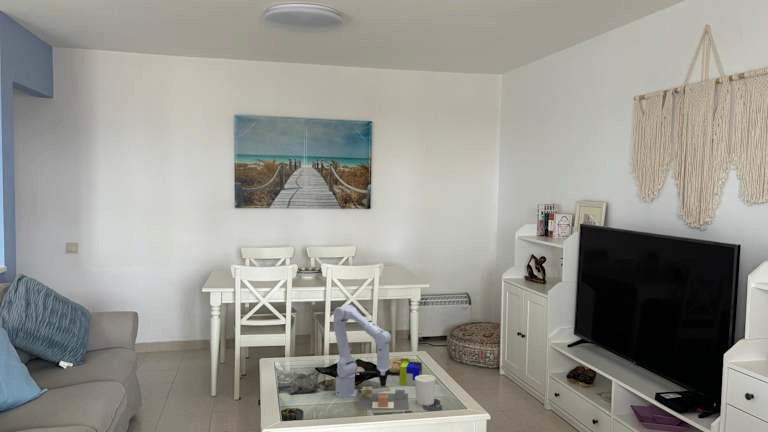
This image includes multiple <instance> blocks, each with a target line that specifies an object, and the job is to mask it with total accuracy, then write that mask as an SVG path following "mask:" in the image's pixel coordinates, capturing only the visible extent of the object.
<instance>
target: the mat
mask: <svg viewBox="0 0 768 432" xmlns="http://www.w3.org/2000/svg"><path fill="white" fill-rule="evenodd" d="M378 394H388V407H378ZM409 407H410V405H409V393H407V392H406V393H405V399H395V392H394V393H393V392H392V393H390V392H388V393H387V392H386V393H385V392H384V393H383V392H382V393H381V392H379V393H377V392H375V393H374V392H372V399H362V392H360V393H359V396H358V400H357V406H356V410H365V411H366V410H367V411H372V410H373V411H377V410H379V411H383V410H384V411H409V410H410V408H409Z"/></svg>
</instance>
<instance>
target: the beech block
mask: <svg viewBox="0 0 768 432" xmlns="http://www.w3.org/2000/svg"><path fill="white" fill-rule="evenodd" d="M361 391H362V392H361V393H362V399H372V393H373V387H372V386H362V390H361Z"/></svg>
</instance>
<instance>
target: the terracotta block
mask: <svg viewBox="0 0 768 432" xmlns="http://www.w3.org/2000/svg"><path fill="white" fill-rule="evenodd" d="M378 407H388V394H378Z"/></svg>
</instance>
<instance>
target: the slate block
mask: <svg viewBox="0 0 768 432" xmlns="http://www.w3.org/2000/svg"><path fill="white" fill-rule="evenodd" d="M405 392H406V388H405V386H395V387H394V393H395V399H405Z"/></svg>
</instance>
